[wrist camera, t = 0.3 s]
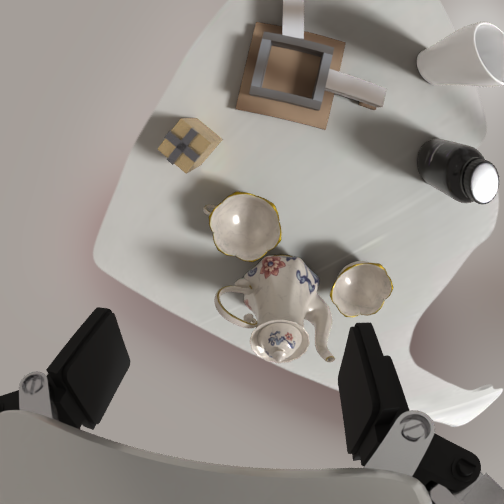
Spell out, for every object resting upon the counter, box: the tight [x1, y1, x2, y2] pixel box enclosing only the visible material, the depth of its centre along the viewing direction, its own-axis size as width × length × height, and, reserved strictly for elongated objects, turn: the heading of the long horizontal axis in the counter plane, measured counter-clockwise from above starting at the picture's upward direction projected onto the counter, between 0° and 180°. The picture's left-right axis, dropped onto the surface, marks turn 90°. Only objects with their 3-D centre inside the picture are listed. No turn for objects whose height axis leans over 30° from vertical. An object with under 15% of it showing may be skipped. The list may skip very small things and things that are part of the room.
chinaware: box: [203, 191, 393, 363], centre depth 35 cm, size 28×17×17 cm, turn 67°
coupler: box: [158, 118, 223, 173], centre depth 32 cm, size 4×4×7 cm
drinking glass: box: [417, 22, 504, 87], centre depth 20 cm, size 7×7×15 cm
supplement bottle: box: [417, 139, 499, 204], centre depth 27 cm, size 7×7×12 cm
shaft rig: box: [236, 0, 387, 130], centre depth 28 cm, size 17×16×4 cm
